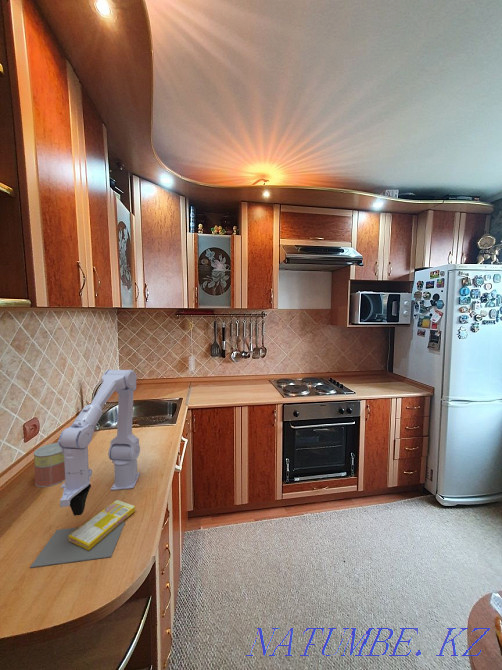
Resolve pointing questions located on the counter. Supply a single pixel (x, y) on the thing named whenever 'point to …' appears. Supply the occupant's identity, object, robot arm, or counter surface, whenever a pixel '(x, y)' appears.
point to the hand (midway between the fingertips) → (78, 513)
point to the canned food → (49, 465)
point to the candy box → (101, 524)
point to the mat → (75, 548)
